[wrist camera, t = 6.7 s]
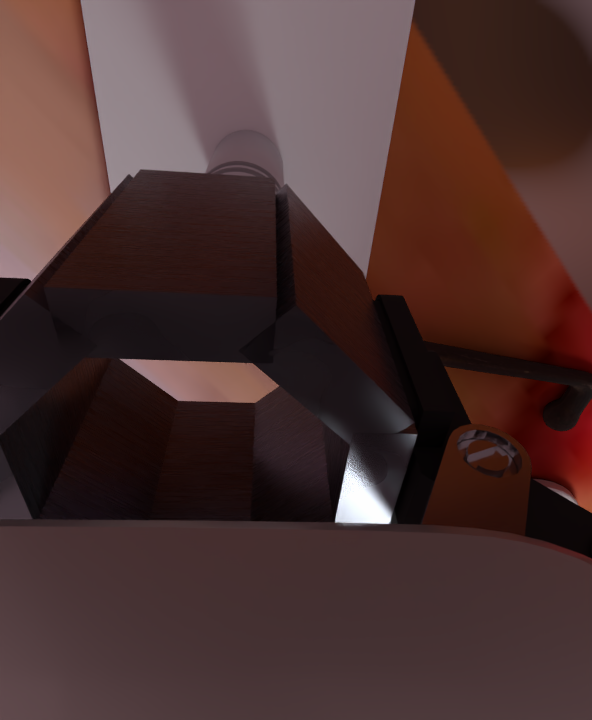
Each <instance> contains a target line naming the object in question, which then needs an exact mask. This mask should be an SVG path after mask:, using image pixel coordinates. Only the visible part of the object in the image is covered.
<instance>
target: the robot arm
mask: <svg viewBox="0 0 592 720" xmlns="http://www.w3.org/2000/svg"><path fill="white" fill-rule="evenodd" d="M30 283H31V280H29V279H21V278H0V317H1V315H2V314H3V313H4V312H5V311H6V310H7V309H8V308H9V306H10V305H11V304H12V303H13V302H14V301H15V300H16V298H17V297H18V296H19V295H20V294H21V293H22V292H23V291H24V289H25V288H26V287H27V286H28V285H29V284H30ZM373 302H374V305H375V308H376V311H377V314H378V317H379V320H380V322H381V325H382V328H383V331H384V334H385V337H386V340H387V343H388V346H389V349H390V351H391V354H392V357H393V360H394V363H395V366H396V369H397V372H398V375H399V378H400V380H401V383H402V386H403V389H404V392H405V395H406V398H407V401H408V404H409V407H410V409H411V412H412V415H413V418H414V421H415V423H414V424H415V427H416V430H417V433H418V435H417V439H416V442H415V445H414V448H413V451H412V454H411V457H410V461H409V464H408V467H407V470H406V473H405V476H404V479H403V482H402V486H401V489H400V492H399V495H398V498H397V501H396V504H395V508H394V511H393V514H392V517H391V520H390V523H389V524H380V523H341V522H266V521H180V520H53V519H0V720H592V513H590V512H589V511H587V510H585V509H584V508H582V507H580V506H579V505H578V503H577V501H576V500H575V498H574V496H573V495H572V494H571V493H570V491H569V490H567V489H566V488H565V487H563V486H562V485H559V484H557V483H554V482H551V481H546V480H541V479H532V478H531V469H532V467H531V460H530V457H529V455H528V454H527V452H526V450H525V449H524V448H523V446H522V445H521V444H520V443H519V442H518V441H517V440H515V439H514V438H512V437H511V436H510V435H508V434H507V433H505V432H503V431H500V430H498V429H496V428H493V427H489V426H485V425H478V424H471V422H470V420H469V418H468V416H467V414H466V412H465V409H464V407H463V405H462V403H461V401H460V399H459V397H458V395H457V393H456V391H455V389H454V386H453V384H452V382H451V380H450V378H449V376H448V374H447V372H446V370H445V368H444V366H443V363H442V361H441V359H440V357H439V355H438V354H437V353H436V352H435V351H428V350H427V348H426V346H425V344H424V341H423V339H422V337H421V335H420V333H419V330H418V328H417V326H416V324H415V322H414V319H413V317H412V315H411V313H410V311H409V308H408V306H407V304H406V302H405V299H404V297H403V296H398V295H378V296H377V297H376V300H375V301H374V300H373Z"/></svg>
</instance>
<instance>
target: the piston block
mask: <svg viewBox="0 0 592 720" xmlns="http://www.w3.org/2000/svg"><path fill="white" fill-rule="evenodd" d="M414 5H415V0H81V6H82V13H83V19H84V25H85V32H86V38H87V45H88V51H89V57H90V64H91V70H92V76H93V83H94V89H95V95H96V102H97V108H98V115H99V121H100V127H101V134H102V140H103V146H104V153H105V159H106V165H107V172H108V178H109V184H110V191H111V193H112V192H113V191H114V189H115V188H116V187H117V186H118V185H119V184H120V183H121V182H122V181H123V180H124V178H125V177H126V176H127V175H128V174H130V175H131V176H132V177H133V178H134V177H135V175H136V174H137V173H138V172H139V170H140V169H145V170H161V171H177V172H193V173H209V174H225V175H241V176H257V177H273V178H275V193H276V192H278V191H279V190H280V189H281V188H282V187H283V186H284V185H285V184H286V183H287V185H288V186H289V187H290V188H291V189H292V190H293V191H294V193H295V194H296V195H297V196H298V197H299V198H300V200H301V201H302V202H303V203H304V204H305V205H306V207H307V208H308V209H309V210H310V211H311V212H312V213H313V215H314V216H315V217H316V218H317V219H318V220H319V222H320V223H321V224H322V225H323V226H324V227H325V229H326V230H327V231H328V232H329V233H330V234H331V235H332V237H333V238H334V239H335V240H336V241H337V242H338V244H339V245H340V246H341V247H342V248H343V249H344V251H345V252H346V253H347V254H348V255H349V256H350V257H351V259H352V260H353V261H354V262H355V263H356V264H357V266H358V267H359V268H360V269H361V270H362V271H363V273H364V276H365V279H366V275H367V269H368V264H369V258H370V253H371V247H372V241H373V236H374V230H375V224H376V219H377V213H378V208H379V202H380V196H381V191H382V185H383V179H384V174H385V168H386V163H387V157H388V151H389V146H390V140H391V134H392V129H393V123H394V118H395V112H396V106H397V101H398V95H399V89H400V84H401V78H402V73H403V67H404V61H405V56H406V50H407V44H408V39H409V33H410V28H411V22H412V16H413V10H414Z"/></svg>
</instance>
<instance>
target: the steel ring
mask: <svg viewBox="0 0 592 720" xmlns="http://www.w3.org/2000/svg"><path fill="white" fill-rule="evenodd" d="M120 359H146V360H176V361H206V362H237V363H253V364H254V365H256V366H257V367H258V368H259V369H260V370H262V371H263V372H264V373H265V374H266V375H267V376H269V377H270V378H271V379H272V380H273V381H275V382H276V383H277V384H278V385H279V387H278V388H276V389H275V390H273V391H272V392H270V393H269V394H268V395H266V396H265V397H263V398H262V399H261V400H259V401H258V402H256V403H234V402H196V401H177V400H176V399H175V398H173V397H172V396H170V395H169V394H168V393H166V392H165V391H163V390H162V389H161V388H159V387H158V386H156V385H155V384H153V383H152V382H151V381H149V380H148V379H146V378H145V377H144V376H142V375H141V374H139V373H138V372H137V371H135V370H134V369H132V368H131V367H130V366H128V365H127V364H125V363H124V362H123V361H121V360H120ZM414 423H415V421H414V418H413V415H412V412H411V409H410V407H409V404H408V401H407V398H406V395H405V392H404V389H403V386H402V383H401V380H400V378H399V375H398V372H397V369H396V366H395V363H394V360H393V357H392V354H391V351H390V349H389V346H388V343H387V340H386V337H385V334H384V331H383V328H382V325H381V322H380V320H379V317H378V314H377V311H376V308H375V305H374V302H373V299H372V296H371V294H370V291H369V288H368V285H367V282H366V279H365V276H364V273H363V271H362V270H361V269H360V268H359V267H358V266H357V264H356V263H355V262H354V261H353V260H352V259H351V257H350V256H349V255H348V254H347V253H346V252H345V251H344V249H343V248H342V247H341V246H340V245H339V244H338V242H337V241H336V240H335V239H334V238H333V237H332V235H331V234H330V233H329V232H328V231H327V230H326V229H325V227H324V226H323V225H322V224H321V223H320V222H319V220H318V219H317V218H316V217H315V216H314V215H313V213H312V212H311V211H310V210H309V209H308V208H307V207H306V205H305V204H304V203H303V202H302V201H301V200H300V198H299V197H298V196H297V195H296V194H295V193H294V191H293V190H292V189H291V188H290V187H289V186H288V185H287V183H286V184H285V185H284V186H283V187H282V188H281V189H280V190H279V191H278V192H276V193H275V178H273V177H257V176H241V175H225V174H209V173H193V172H177V171H161V170H145V169H140V170H139V172H138V173H137V174H136V175H135V177H134V178H133V177H132V176H131V175H130V174H128V175H127V176H126V177H125V178H124V180H123V181H122V182H121V183H120V184H119V185H118V186H117V187H116V188H115V189H114V191H113V192H112V193H111V194H110V195H109V196H108V197H107V198H106V199H105V200H104V202H103V203H102V204H101V205H100V206H99V207H98V208H97V209H96V210H95V212H94V213H93V214H92V215H91V216H90V217H89V218H88V219H87V220H86V221H85V223H84V224H83V225H82V226H81V227H80V228H79V229H78V230H77V231H76V232H75V234H74V235H73V236H72V237H71V238H70V239H69V240H68V241H67V242H66V243H65V245H64V246H63V247H62V248H61V249H60V250H59V251H58V252H57V253H56V254H55V256H54V257H53V258H52V259H51V260H50V261H49V262H48V263H47V265H46V266H45V267H44V268H43V269H42V270H41V271H40V272H39V274H38V275H37V276H36V277H35V278H34V279H33V280H32V282H31V283H30V284H29V285H28V286H27V287H26V288H25V289H24V291H23V292H22V293H21V294H20V295H19V296H18V297H17V298H16V300H15V301H14V302H13V303H12V304H11V305H10V306H9V308H8V309H7V310H6V311H5V312H4V313H3V314H2V315H1V317H0V519H53V520H180V521H266V522H341V523H380V524H389V523H390V520H391V517H392V514H393V511H394V508H395V504H396V501H397V498H398V495H399V492H400V489H401V486H402V482H403V479H404V476H405V473H406V470H407V467H408V464H409V461H410V457H411V454H412V451H413V448H414V445H415V442H416V439H417V435H418V433H417V430H416V427H415V424H414Z"/></svg>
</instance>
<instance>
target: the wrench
mask: <svg viewBox="0 0 592 720" xmlns="http://www.w3.org/2000/svg"><path fill="white" fill-rule="evenodd" d="M424 344H425V346H426V348H427V350H428V351H435V352H436V353H437V354H438V355H439V357H440V359H441V361H442V363H443V366H446V367H453V368H459V369H466V370H472V371H479V372H485V373H492V374H499V375H507V376H513V377H520V378H527V379H534V380H541V381H547V382H553V383H559V384H565V385H569V387H568V388H567V390H566V391H565V393H564V394H563V396H562V397H561V398H560V399H558V400H556V401H553V402H551V403H549V404H548V405H547V406H546V407H545V409H544V411H543V419H544V422H545V423H546V425H547V426H548V427H550V428H552V429H554V430H557V431H567V430H569V429H572V428H573V427H574V426H575V425H576V423H577V421H578V419H579V417H580V415H581V413H582V412H583V410H584V408H585V407H586V406H587V404H588V403H589V401H590V400H591V399H592V374H591V373H588V372H585V371H579V370H575V369H569V368H563V367H558V366H553V365H547V364H542V363H536V362H531V361H526V360H520V359H515V358H509V357H504V356H499V355H493V354H488V353H484V352H479V351H473V350H468V349H463V348H458V347H453V346H448V345H443V344H437V343H432V342H426V341H424Z"/></svg>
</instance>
